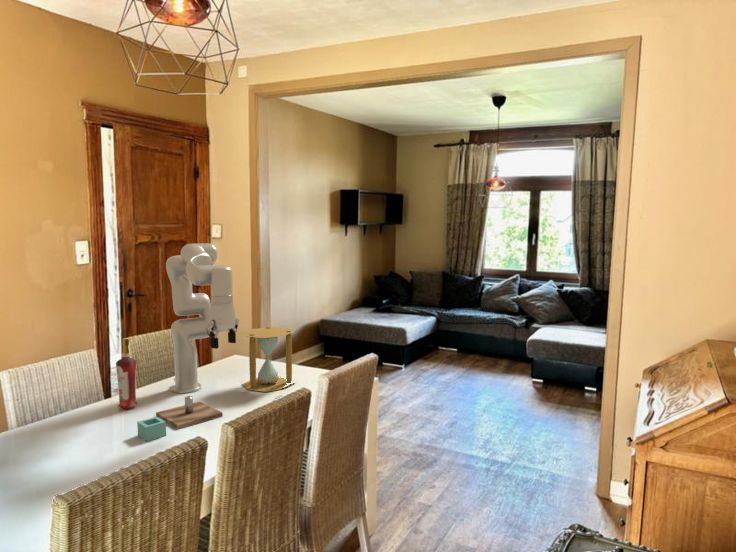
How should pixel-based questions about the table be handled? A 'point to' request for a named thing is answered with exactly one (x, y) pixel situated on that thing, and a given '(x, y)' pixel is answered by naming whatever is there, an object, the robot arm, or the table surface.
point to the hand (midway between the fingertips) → (223, 345)
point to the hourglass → (268, 359)
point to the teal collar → (151, 428)
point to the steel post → (189, 404)
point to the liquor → (126, 378)
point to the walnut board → (189, 415)
